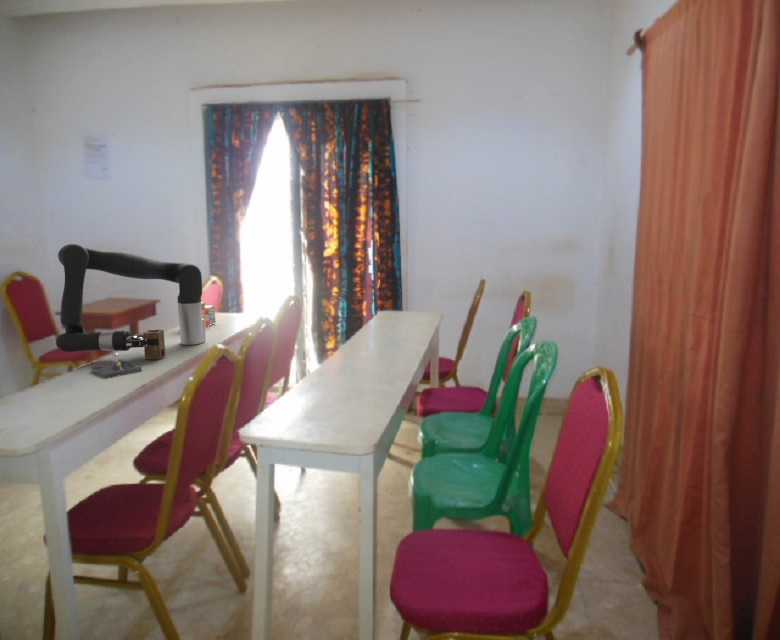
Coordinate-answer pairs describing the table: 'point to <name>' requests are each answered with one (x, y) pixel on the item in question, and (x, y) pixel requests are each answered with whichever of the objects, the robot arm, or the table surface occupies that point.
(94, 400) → the table surface
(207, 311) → the stack of blocks
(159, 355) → the sleeve
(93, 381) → the table surface
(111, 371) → the base plate
